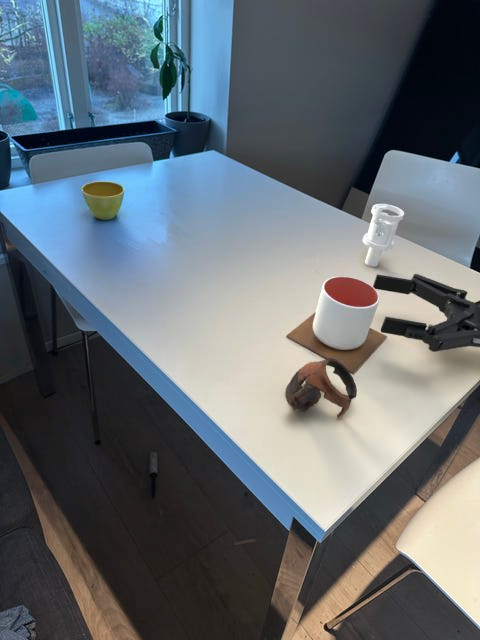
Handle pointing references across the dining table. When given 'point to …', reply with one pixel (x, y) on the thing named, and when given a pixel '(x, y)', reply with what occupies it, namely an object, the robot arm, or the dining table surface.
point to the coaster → (347, 357)
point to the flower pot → (103, 198)
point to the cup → (345, 312)
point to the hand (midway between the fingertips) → (378, 301)
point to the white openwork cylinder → (381, 232)
